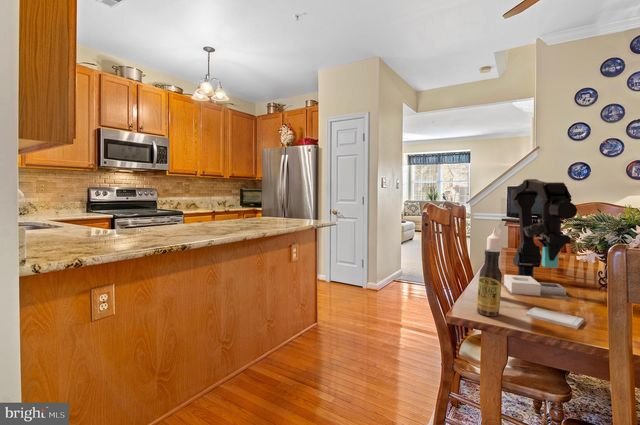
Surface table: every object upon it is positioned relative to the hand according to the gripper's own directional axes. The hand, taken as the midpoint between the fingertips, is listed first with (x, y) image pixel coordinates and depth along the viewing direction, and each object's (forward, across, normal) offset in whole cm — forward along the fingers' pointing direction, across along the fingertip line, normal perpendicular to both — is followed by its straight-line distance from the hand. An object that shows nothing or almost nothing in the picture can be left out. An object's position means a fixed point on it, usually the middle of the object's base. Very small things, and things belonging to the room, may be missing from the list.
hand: (549, 259), depth 117 cm
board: (+13, 0, -4) cm, 14 cm away
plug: (+2, 0, 0) cm, 2 cm away
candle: (+13, +12, -20) cm, 27 cm away
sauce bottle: (+13, +28, -24) cm, 39 cm away
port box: (+12, 0, -9) cm, 15 cm away
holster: (+12, 0, 0) cm, 12 cm away
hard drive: (+14, +26, -6) cm, 30 cm away
